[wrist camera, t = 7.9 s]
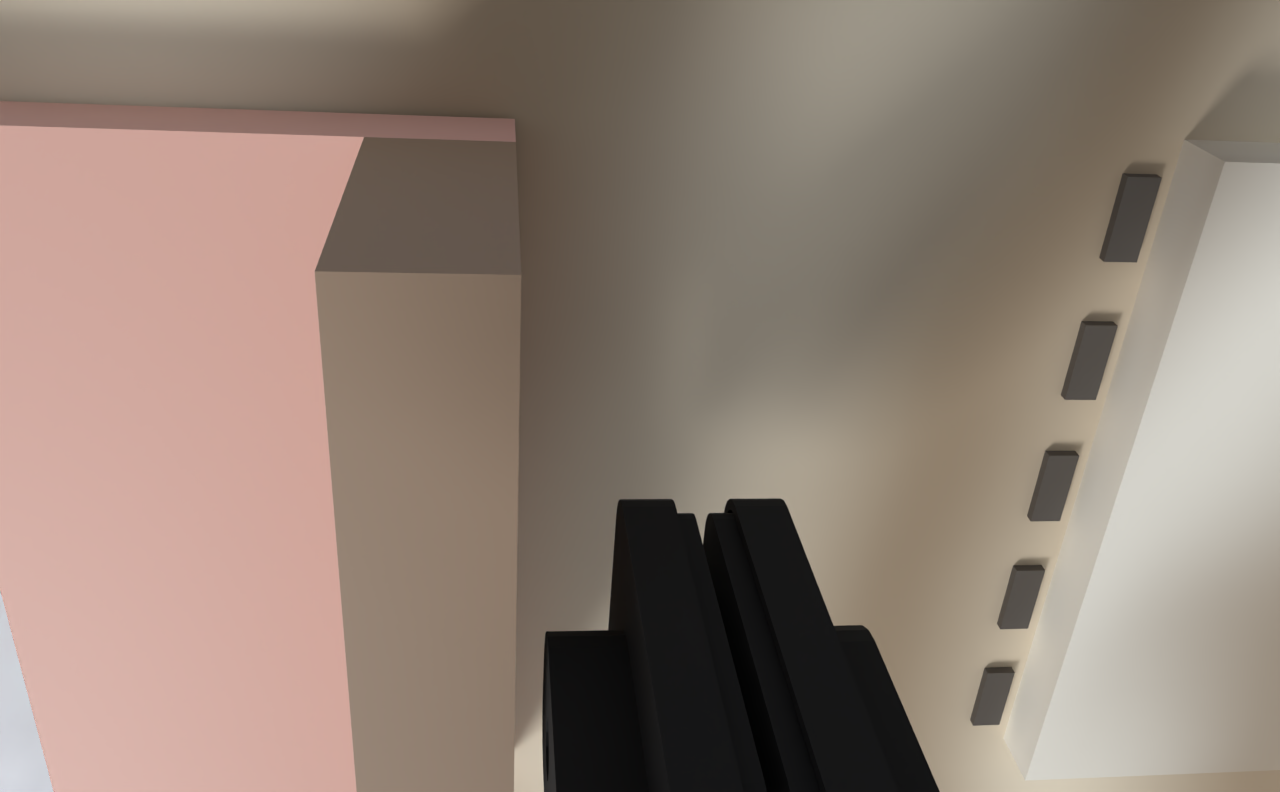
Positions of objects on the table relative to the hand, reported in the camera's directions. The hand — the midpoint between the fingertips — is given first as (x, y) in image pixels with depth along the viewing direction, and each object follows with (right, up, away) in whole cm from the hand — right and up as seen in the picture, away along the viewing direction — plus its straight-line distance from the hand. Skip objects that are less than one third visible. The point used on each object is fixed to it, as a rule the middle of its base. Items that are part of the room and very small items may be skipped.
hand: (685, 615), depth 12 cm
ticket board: (+4, +2, +4) cm, 6 cm away
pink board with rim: (-5, +1, +2) cm, 5 cm away
